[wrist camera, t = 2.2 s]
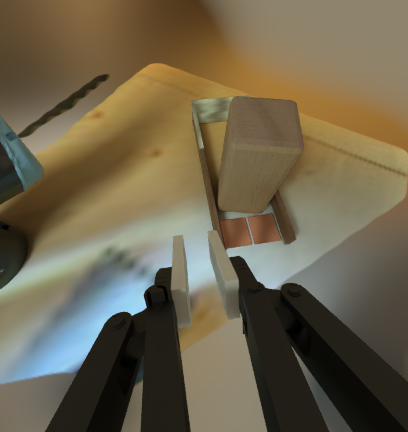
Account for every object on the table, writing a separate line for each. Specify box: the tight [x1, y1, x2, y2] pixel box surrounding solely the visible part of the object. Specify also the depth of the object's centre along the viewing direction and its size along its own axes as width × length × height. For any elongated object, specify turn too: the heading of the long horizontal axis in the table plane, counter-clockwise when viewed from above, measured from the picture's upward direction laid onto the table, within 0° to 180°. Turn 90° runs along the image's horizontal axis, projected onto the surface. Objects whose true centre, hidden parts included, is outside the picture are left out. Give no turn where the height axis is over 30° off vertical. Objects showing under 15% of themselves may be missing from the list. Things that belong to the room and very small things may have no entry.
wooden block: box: [217, 96, 304, 214], centre depth 36 cm, size 10×10×20 cm
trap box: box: [192, 96, 296, 249], centre depth 45 cm, size 15×38×6 cm, turn 9°
